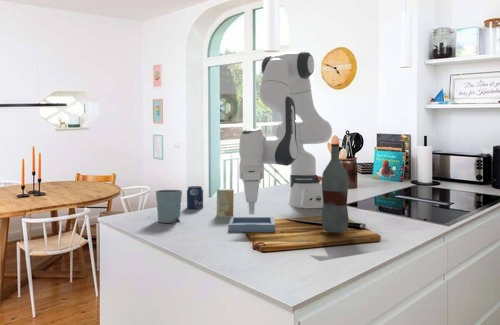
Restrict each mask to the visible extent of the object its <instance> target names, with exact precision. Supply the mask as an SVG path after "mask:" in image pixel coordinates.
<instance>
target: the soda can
mask: <svg viewBox="0 0 500 325" xmlns="http://www.w3.org/2000/svg"><path fill="white" fill-rule="evenodd" d="M186 209H187V210H193V211H195V210H196V211H197V210H202V209H204V190H203V187H202V186H199V185H195V186H194V185H191V186H188V187H187V190H186Z"/></svg>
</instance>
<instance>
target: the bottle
mask: <svg viewBox="0 0 500 325" xmlns="http://www.w3.org/2000/svg"><path fill="white" fill-rule="evenodd" d="M330 146H331V147H330V148H331V151H330V152H331V153H330V160H329V162H328V164H327V165H326V166H325V169H324V170H323V172H322V175H321V177H322V180H321V184H322V193H323V208H322V210H321V227H322V229H323V231H324V230H325V231H324V232H329V233H344V231H345V232H347V231H348V228H349V212H348V206H347V205H348V195H349V194H348V193H349V184H350V183H349V174H348V172H347V170H346V169H345V167H344V165H343V164H342V162H341V160H340V149H339V147H340V144H339V143H331V144H330Z"/></svg>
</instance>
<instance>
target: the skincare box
mask: <svg viewBox="0 0 500 325" xmlns="http://www.w3.org/2000/svg"><path fill="white" fill-rule="evenodd" d="M234 191H235V190H234V189H232V188H217V189H216V217H217V218H222V219H223V218H231V217H234V195H235V194H234Z"/></svg>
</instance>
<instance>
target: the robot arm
mask: <svg viewBox="0 0 500 325" xmlns="http://www.w3.org/2000/svg"><path fill="white" fill-rule="evenodd" d="M314 70H315V61H314V56H313V55H312V54H311V53H310V52H308V51H287V52H282V53H277V54H269V55H267V56H265V57H264V59H263V60H262V62H261V73H262V78H261V82H260V83H261V84H260V88H259V99H260V101H261V102H262V104H263V105H264V106H265V107H267V108H268V109H270V110H273V111H276V112H278V113H280V115H281V122H279V123H278V124H277V126H276V129H275V136H276V137H275V138H273V137H272V138H271V137H270V138H269V137H266V136H264V135H263V131H262V129H261V128H250V129H249V128H247V129H244V130H242V132H241V133H240V135H239V136H240V138H239V145H238V146H239V149H238V150H239V157H240V162H239V167H238V168H239V171H238V172H239V179H240V180H241V181H242V183H243V187H244V196H245V201H246V203H248V213H249V215H255V205H256V203H258V202H257V201H258V196H259V195H258V194H259V186H260V184H261V180H263V179H265V165H278V166H290V170H291V171H290V175H289V176H290V177H289V186H290V192H289V199H288V203H287V205H288V206H290V207H293V208H300V209H323V193H322V183H321V182H322V175H321V176H320V175H317V174H316V173H317V169H316V168H317V164H316V163H317V162H316V160H317V159H316V157H315V156H314V155H313V154H312V153H310V152H308V151H306V149H305V148H304V147H305V146H304V145H319V144H326V143H328V142H329V141H330V140H331V137H332V136H333V134H332V133H333V128H332V126H331V124H330V122H328V120H326V119H324V118H323V117H322V116H321V115H320V114H319V112H318V111H317V110H316V108H315V105H314V100H313V93H312V92H313V91H312V86H311V84H312V83H311V79H310V77H311V76H312V75H313V73H314ZM296 116H298V117H299V118H300V119H296Z"/></svg>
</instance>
